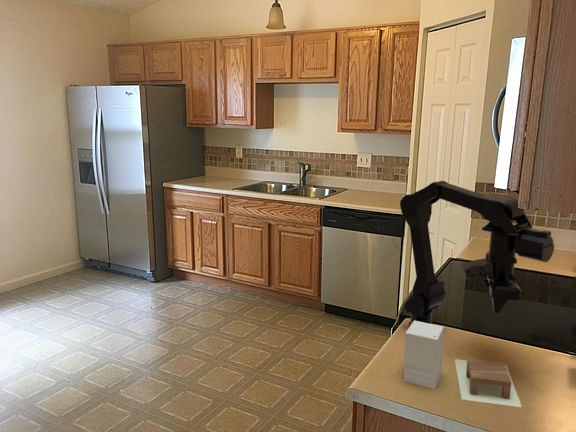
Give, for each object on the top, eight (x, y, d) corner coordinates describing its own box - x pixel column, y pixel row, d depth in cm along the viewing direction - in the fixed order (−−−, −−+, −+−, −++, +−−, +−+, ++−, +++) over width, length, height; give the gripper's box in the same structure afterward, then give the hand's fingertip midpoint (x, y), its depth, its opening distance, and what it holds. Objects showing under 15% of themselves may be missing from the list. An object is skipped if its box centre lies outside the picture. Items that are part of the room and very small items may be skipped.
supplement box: (442, 374, 111) (445, 326, 108) (434, 390, 105) (437, 339, 102) (411, 366, 115) (413, 319, 112) (402, 381, 109) (404, 332, 106)
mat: (454, 360, 117) (454, 359, 117) (506, 365, 114) (506, 364, 114) (461, 400, 101) (461, 399, 101) (521, 408, 98) (521, 407, 98)
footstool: (467, 358, 109) (471, 377, 102) (504, 362, 108) (511, 382, 100) (466, 374, 110) (470, 394, 103) (502, 378, 108) (509, 399, 101)
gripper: (462, 239, 121) (457, 295, 125) (470, 261, 104) (465, 326, 107) (508, 241, 118) (502, 298, 122) (525, 265, 101) (518, 331, 104)
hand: (496, 312), depth 114 cm, fingers closed
